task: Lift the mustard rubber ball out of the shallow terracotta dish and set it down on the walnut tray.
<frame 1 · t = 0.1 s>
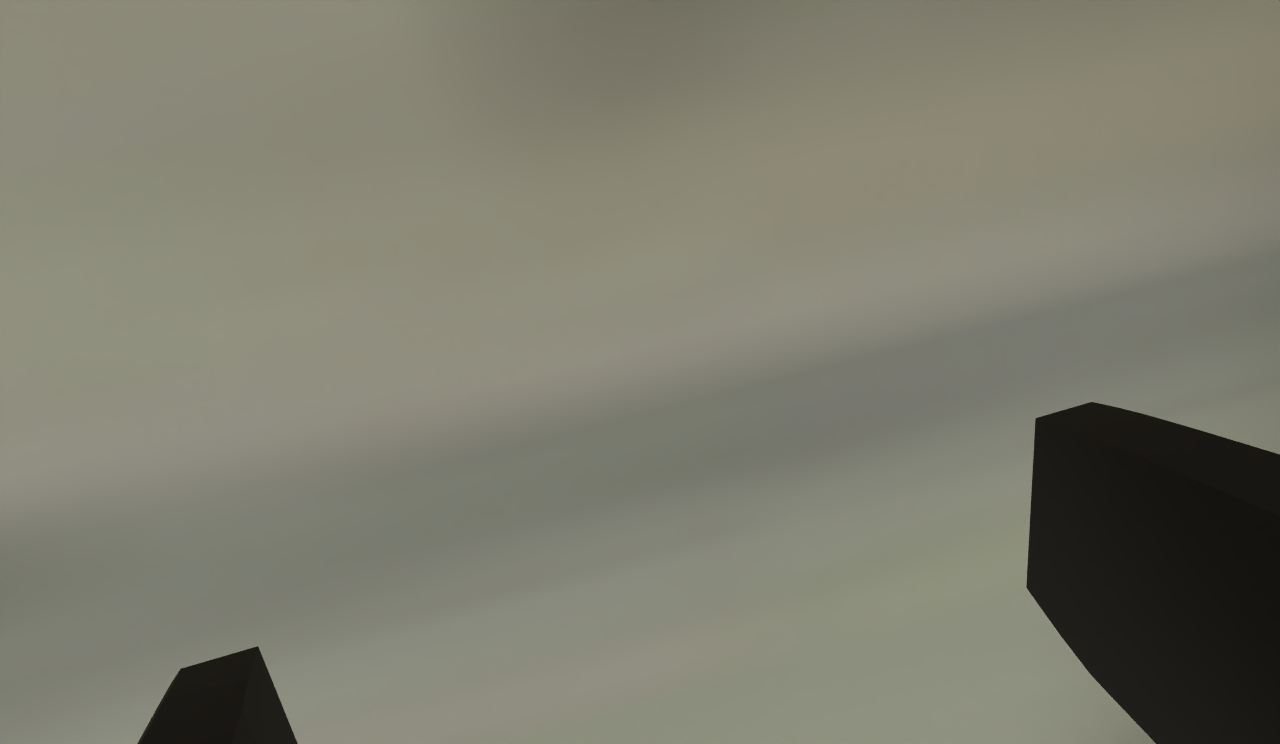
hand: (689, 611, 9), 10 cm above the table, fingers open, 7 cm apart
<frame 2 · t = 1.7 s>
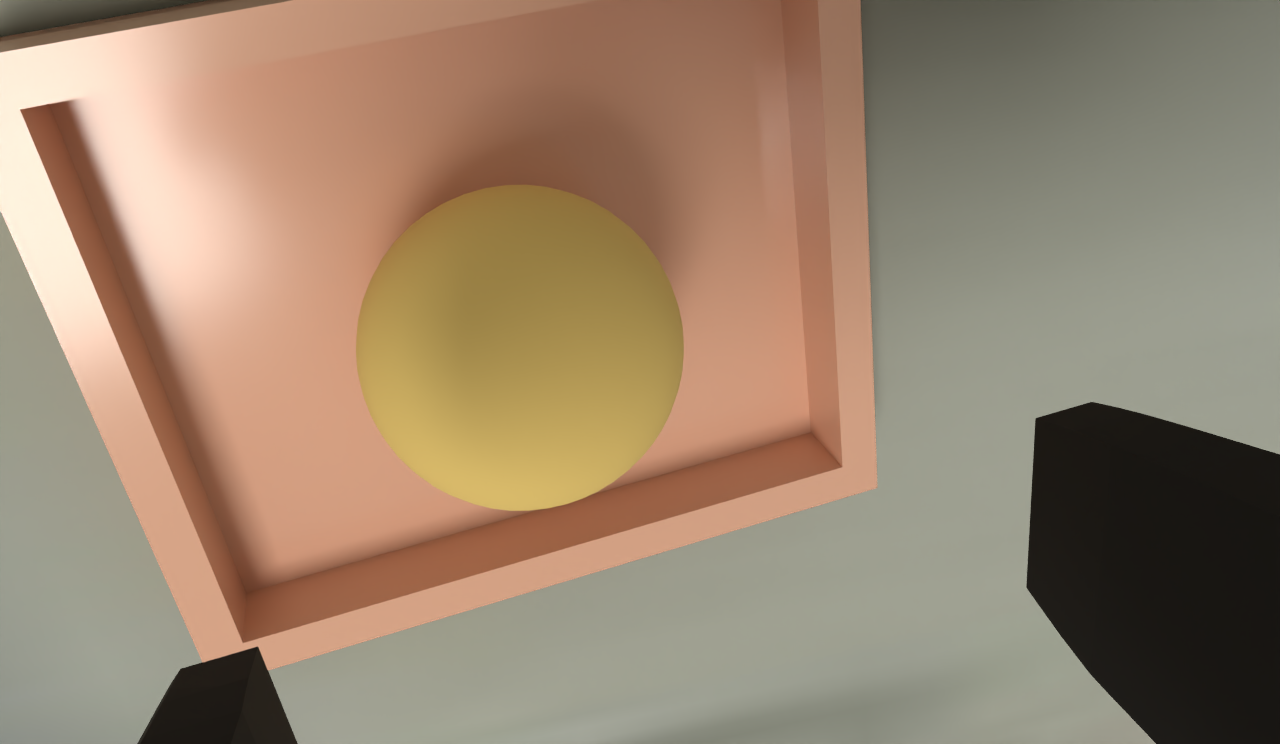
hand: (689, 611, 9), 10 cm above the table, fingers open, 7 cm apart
ball: (522, 348, 15), point 3 cm above the table, touching dish
dish: (490, 279, 18), on the table
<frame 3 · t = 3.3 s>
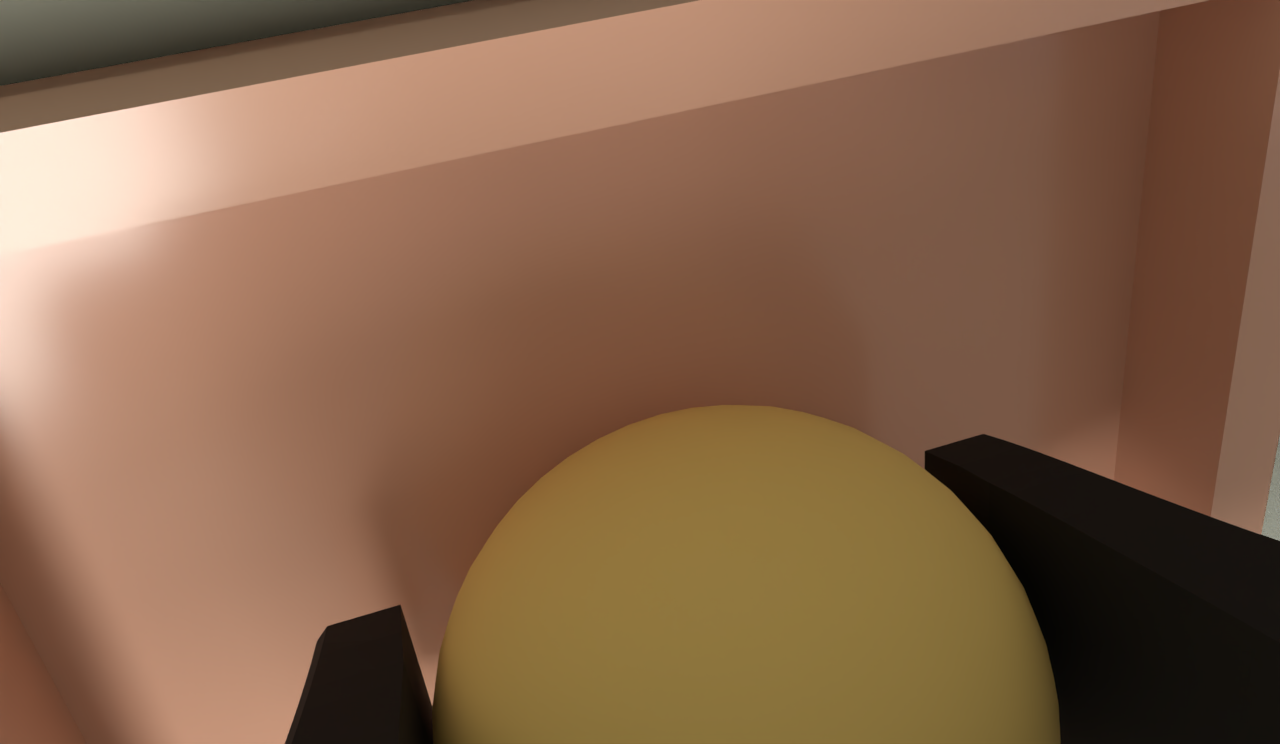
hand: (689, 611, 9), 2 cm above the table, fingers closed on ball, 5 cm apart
ball: (737, 704, 8), point 3 cm above the table, touching dish, gripper
dish: (632, 506, 11), on the table
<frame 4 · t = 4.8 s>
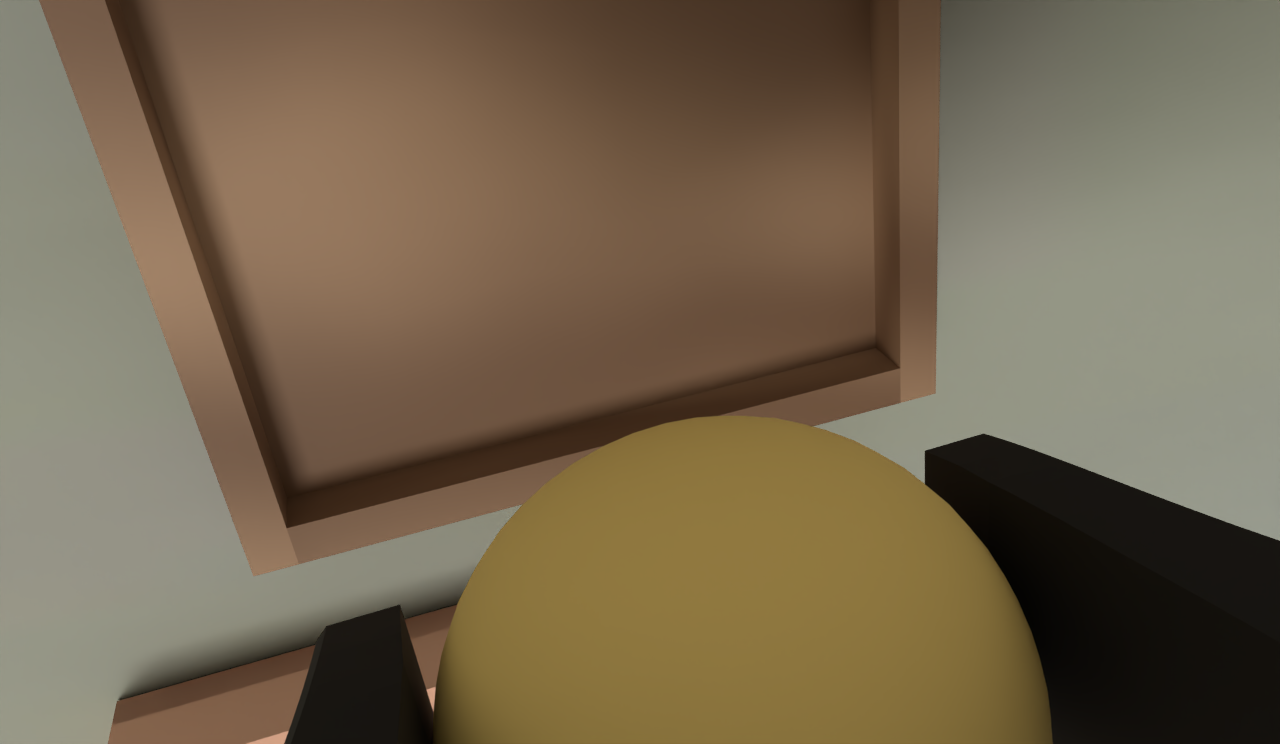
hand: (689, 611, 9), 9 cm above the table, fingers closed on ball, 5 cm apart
ball: (734, 711, 8), point 10 cm above the table, touching gripper
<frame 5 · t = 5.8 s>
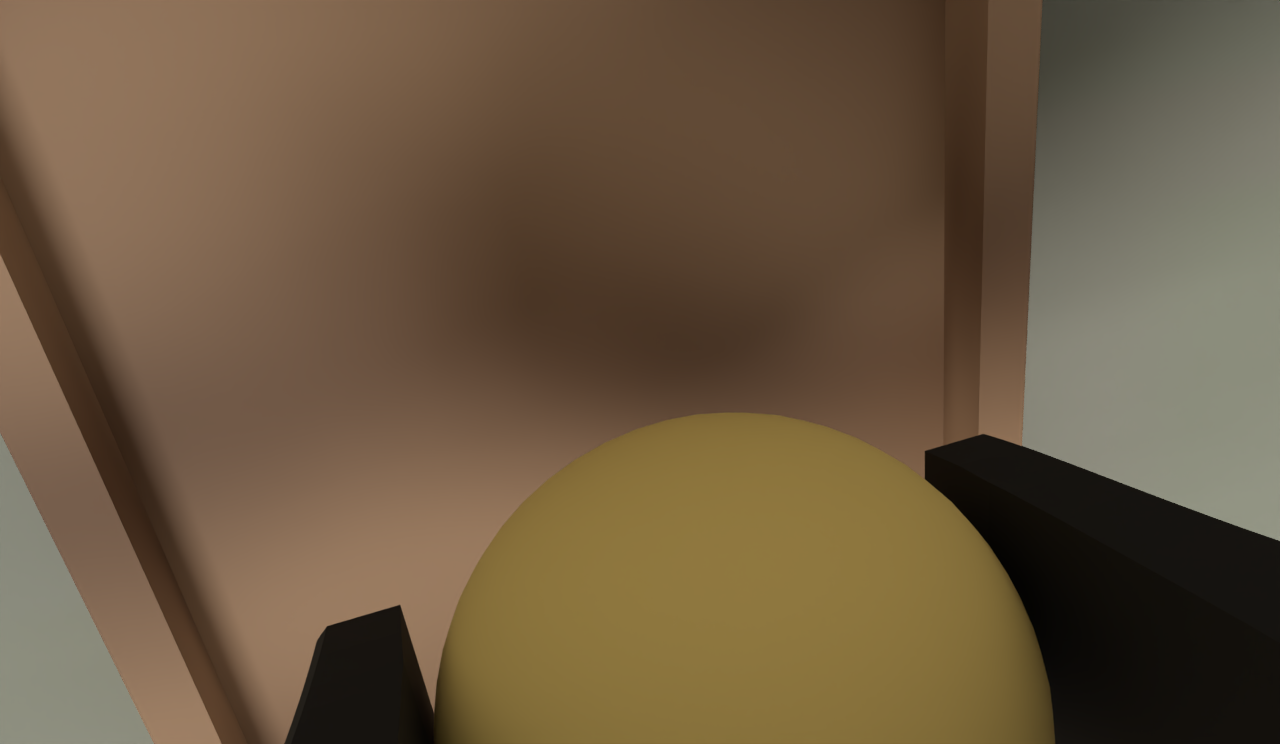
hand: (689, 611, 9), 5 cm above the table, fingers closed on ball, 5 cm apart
ball: (735, 709, 8), point 6 cm above the table, touching gripper
tray: (564, 373, 14), on the table
when the fingers open (3 cm above the table, at t = 6.6 s): ball drops 2 cm, resting on tray.
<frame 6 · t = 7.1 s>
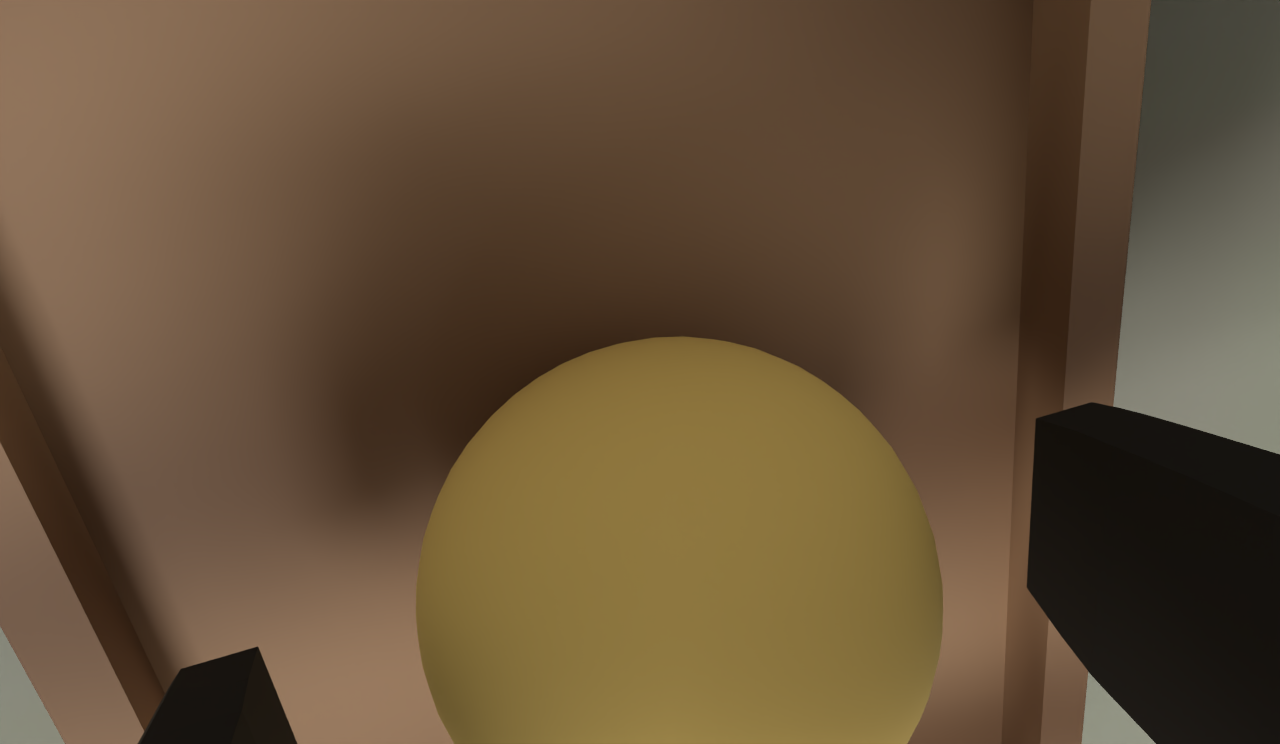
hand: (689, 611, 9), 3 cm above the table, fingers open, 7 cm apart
ball: (677, 592, 10), point 3 cm above the table, touching tray
tray: (594, 434, 12), on the table
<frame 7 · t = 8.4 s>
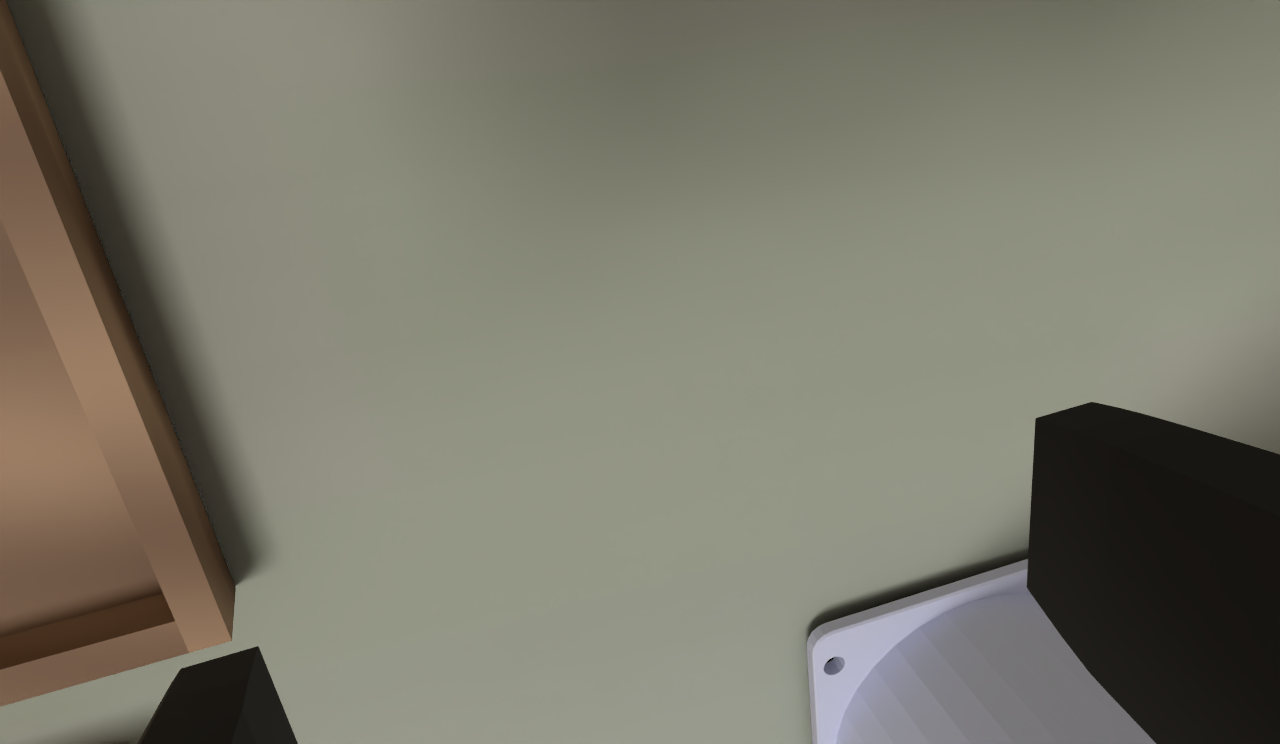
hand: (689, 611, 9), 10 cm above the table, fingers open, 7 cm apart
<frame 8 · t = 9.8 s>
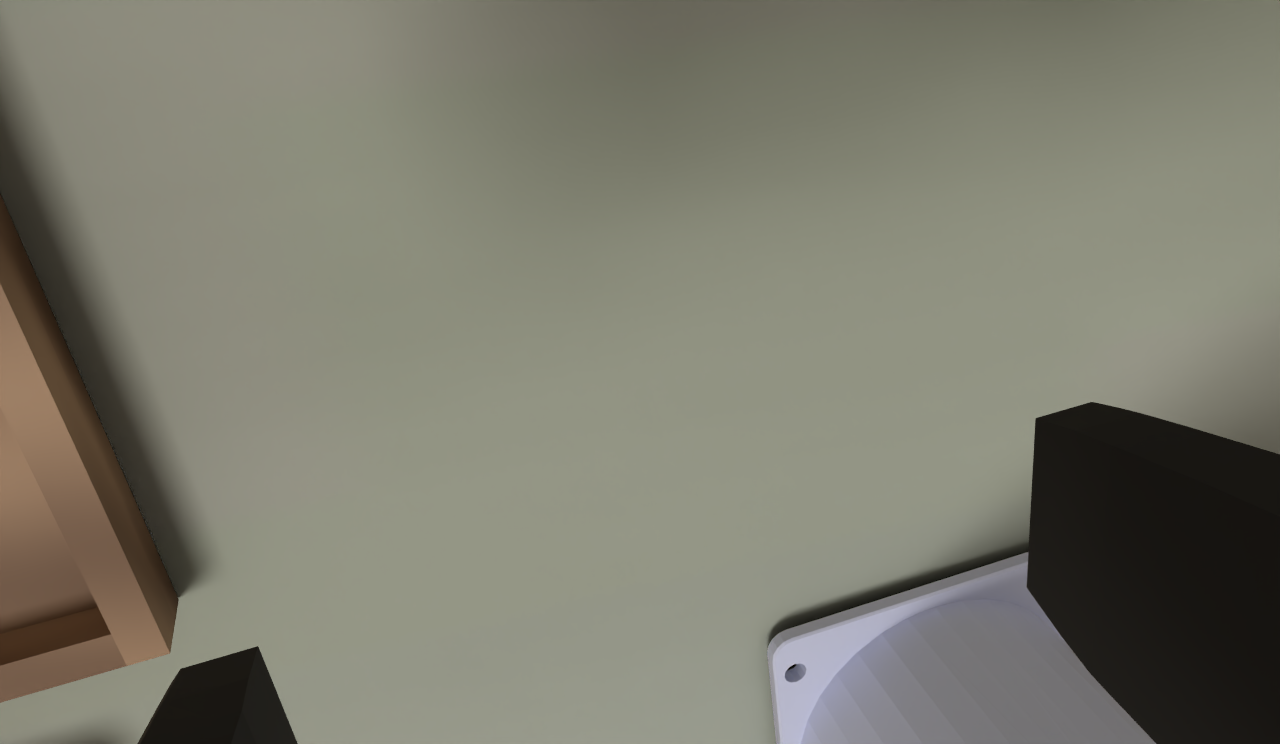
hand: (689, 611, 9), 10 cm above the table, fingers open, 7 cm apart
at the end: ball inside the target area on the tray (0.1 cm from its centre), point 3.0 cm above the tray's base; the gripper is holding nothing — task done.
